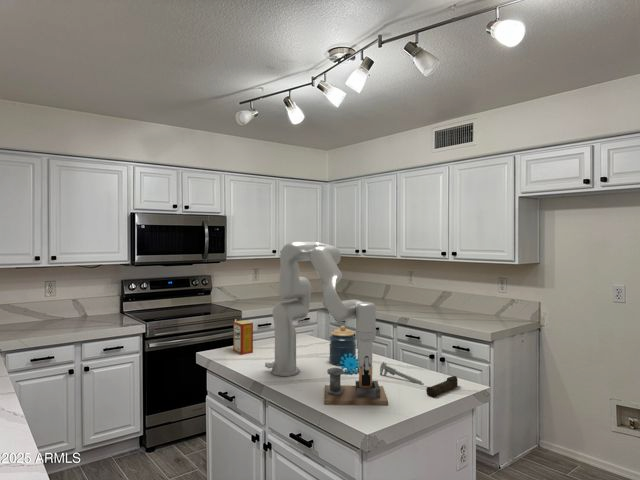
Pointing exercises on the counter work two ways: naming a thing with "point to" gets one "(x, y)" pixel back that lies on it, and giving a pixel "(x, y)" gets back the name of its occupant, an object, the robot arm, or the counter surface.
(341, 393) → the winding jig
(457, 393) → the counter surface
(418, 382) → the caliper
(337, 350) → the canister
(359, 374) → the tan oval solid
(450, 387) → the hand tool
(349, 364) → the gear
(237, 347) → the baking soda box
